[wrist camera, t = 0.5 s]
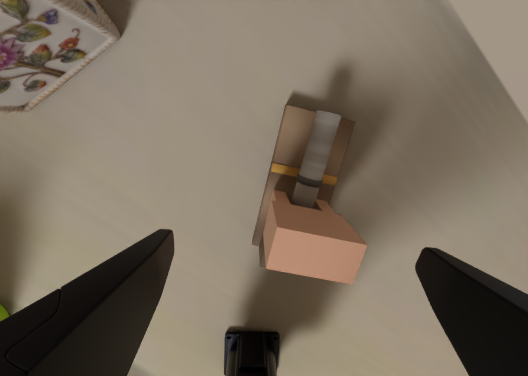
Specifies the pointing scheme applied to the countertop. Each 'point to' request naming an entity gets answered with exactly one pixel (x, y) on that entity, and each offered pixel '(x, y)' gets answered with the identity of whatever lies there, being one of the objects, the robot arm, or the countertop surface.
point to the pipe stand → (304, 161)
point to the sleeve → (311, 241)
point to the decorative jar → (47, 46)
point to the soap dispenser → (3, 313)
